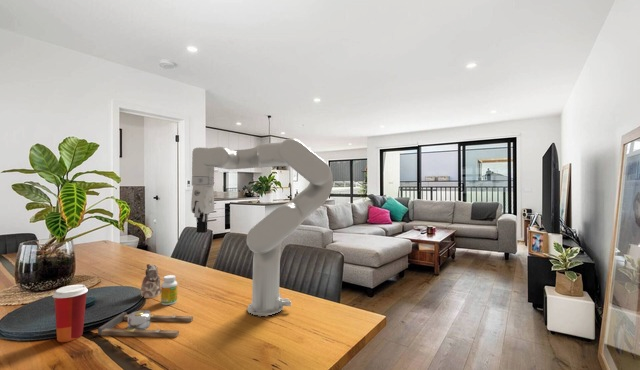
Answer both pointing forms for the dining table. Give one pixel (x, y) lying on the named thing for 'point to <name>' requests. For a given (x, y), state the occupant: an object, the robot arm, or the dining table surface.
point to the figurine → (151, 282)
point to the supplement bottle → (169, 290)
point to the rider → (139, 320)
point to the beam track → (136, 332)
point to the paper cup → (70, 312)
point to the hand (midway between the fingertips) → (201, 232)
